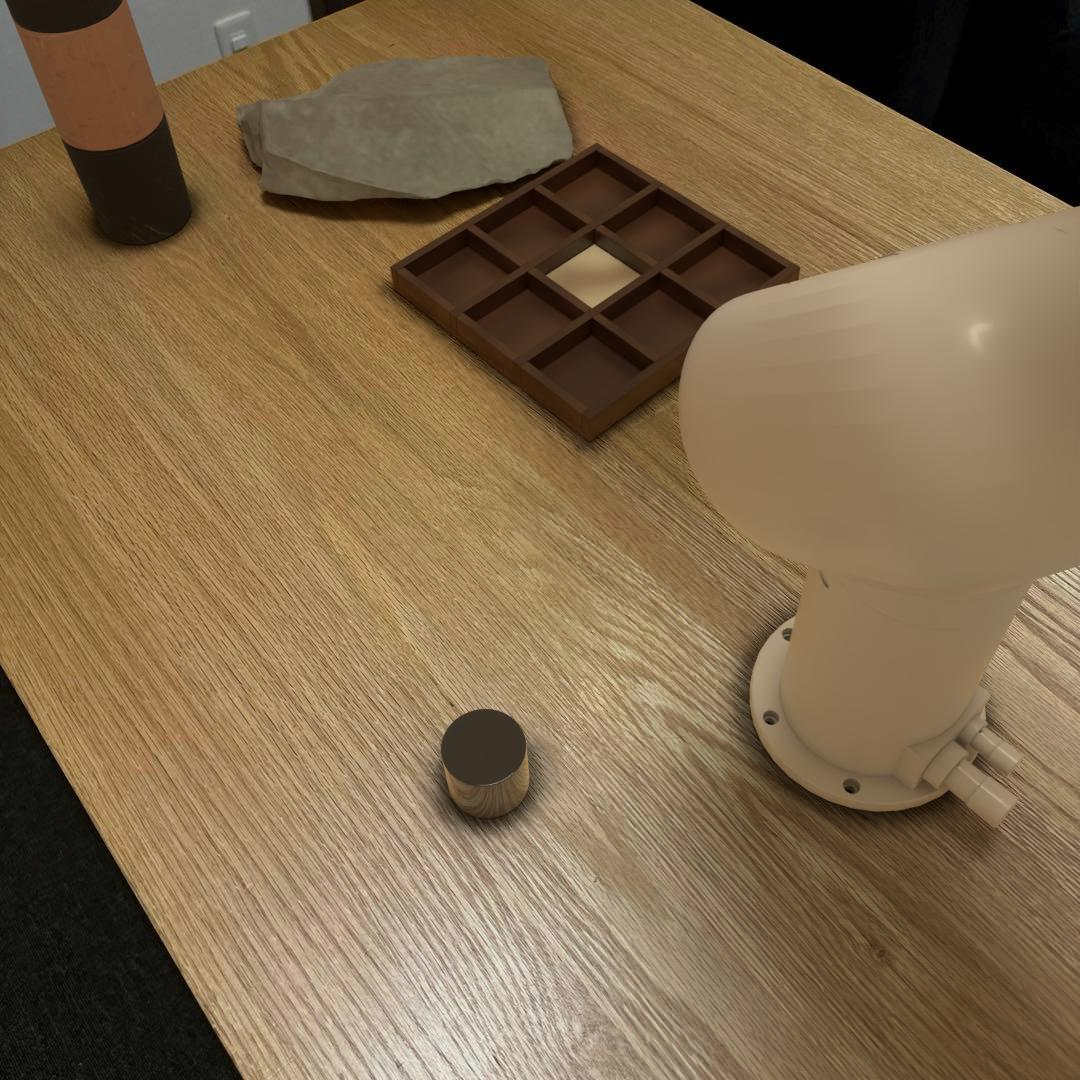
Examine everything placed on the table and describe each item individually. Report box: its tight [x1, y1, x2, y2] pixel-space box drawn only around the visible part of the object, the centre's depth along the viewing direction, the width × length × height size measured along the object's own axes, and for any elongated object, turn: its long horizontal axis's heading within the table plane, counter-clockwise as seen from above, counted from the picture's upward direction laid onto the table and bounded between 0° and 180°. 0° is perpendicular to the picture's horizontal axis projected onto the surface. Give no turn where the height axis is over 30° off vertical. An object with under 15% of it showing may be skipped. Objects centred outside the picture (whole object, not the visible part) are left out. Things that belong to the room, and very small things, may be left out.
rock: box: [235, 54, 575, 202], centre depth 96 cm, size 27×6×20 cm
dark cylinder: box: [440, 708, 531, 819], centre depth 63 cm, size 4×4×4 cm
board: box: [389, 142, 801, 442], centre depth 86 cm, size 21×21×2 cm
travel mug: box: [4, 0, 192, 245], centre depth 86 cm, size 8×8×20 cm
